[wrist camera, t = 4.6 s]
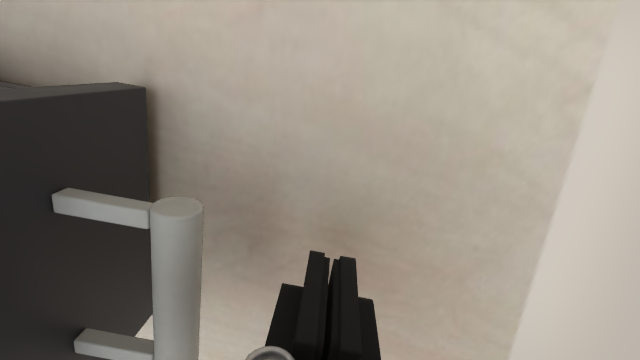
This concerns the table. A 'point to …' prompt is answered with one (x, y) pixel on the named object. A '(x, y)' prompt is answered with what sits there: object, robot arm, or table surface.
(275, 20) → the table surface
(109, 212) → the drawer
